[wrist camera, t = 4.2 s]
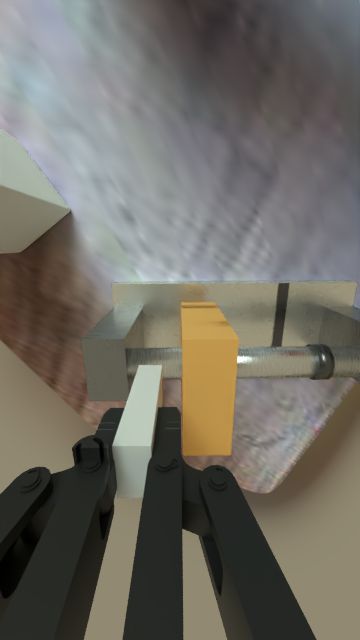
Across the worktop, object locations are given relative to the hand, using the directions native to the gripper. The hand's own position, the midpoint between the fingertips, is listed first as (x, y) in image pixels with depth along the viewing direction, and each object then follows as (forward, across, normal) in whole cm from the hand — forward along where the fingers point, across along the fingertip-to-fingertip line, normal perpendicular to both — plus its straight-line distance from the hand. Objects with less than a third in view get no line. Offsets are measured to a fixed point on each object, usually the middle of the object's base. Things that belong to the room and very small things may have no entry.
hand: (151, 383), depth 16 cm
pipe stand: (+12, +8, 0) cm, 14 cm away
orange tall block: (+7, +4, 0) cm, 8 cm away
